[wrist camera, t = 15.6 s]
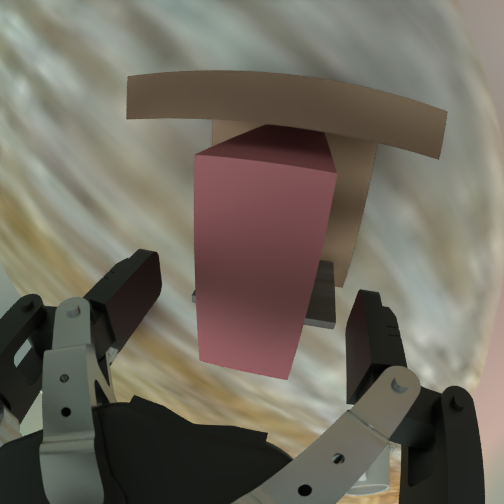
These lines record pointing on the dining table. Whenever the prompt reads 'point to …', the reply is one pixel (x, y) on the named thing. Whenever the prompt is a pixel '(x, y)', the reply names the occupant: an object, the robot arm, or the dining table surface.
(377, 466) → the mug
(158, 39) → the dining table surface
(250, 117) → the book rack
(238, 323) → the burgundy book
